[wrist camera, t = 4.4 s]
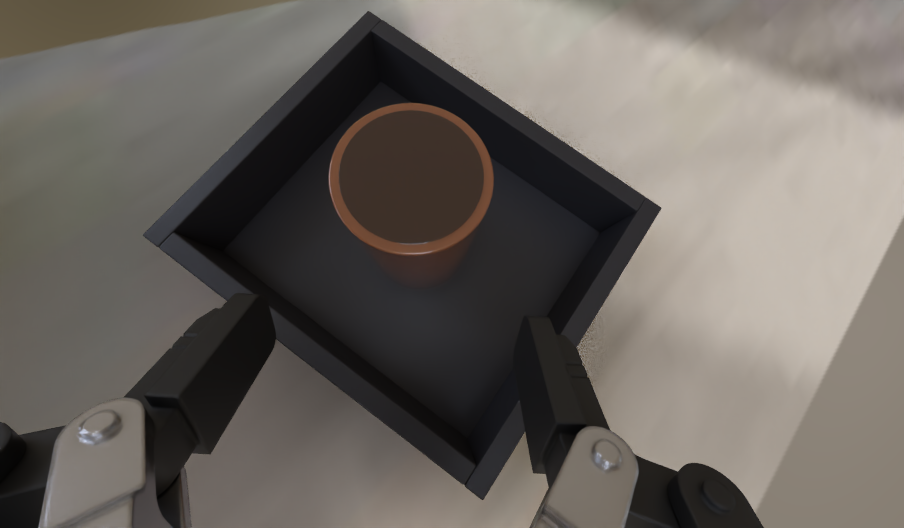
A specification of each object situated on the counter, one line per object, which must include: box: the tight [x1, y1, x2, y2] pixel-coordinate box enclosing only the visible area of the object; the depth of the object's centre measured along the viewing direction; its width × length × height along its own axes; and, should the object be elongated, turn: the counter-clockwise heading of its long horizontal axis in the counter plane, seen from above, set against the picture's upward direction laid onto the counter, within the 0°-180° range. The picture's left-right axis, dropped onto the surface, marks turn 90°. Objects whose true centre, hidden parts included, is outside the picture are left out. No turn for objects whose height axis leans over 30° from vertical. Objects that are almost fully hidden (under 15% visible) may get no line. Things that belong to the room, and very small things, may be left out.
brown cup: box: [328, 103, 494, 289], centre depth 16 cm, size 6×6×9 cm
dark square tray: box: [143, 11, 661, 500], centre depth 19 cm, size 20×17×5 cm
